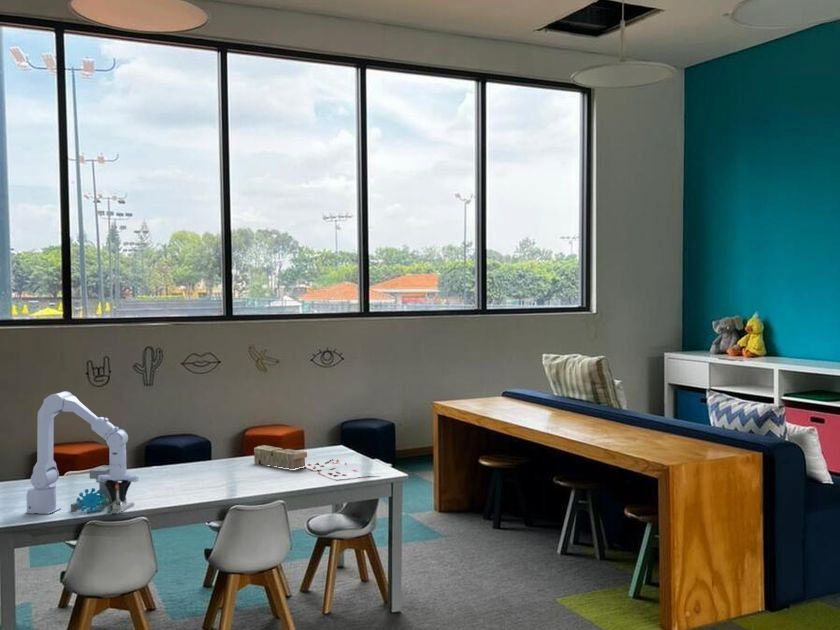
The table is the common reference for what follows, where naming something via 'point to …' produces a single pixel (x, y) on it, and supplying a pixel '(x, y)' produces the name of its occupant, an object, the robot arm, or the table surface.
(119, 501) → the lever handle
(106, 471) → the press frame
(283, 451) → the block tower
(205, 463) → the table surface
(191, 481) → the table surface
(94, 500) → the blue virus model
